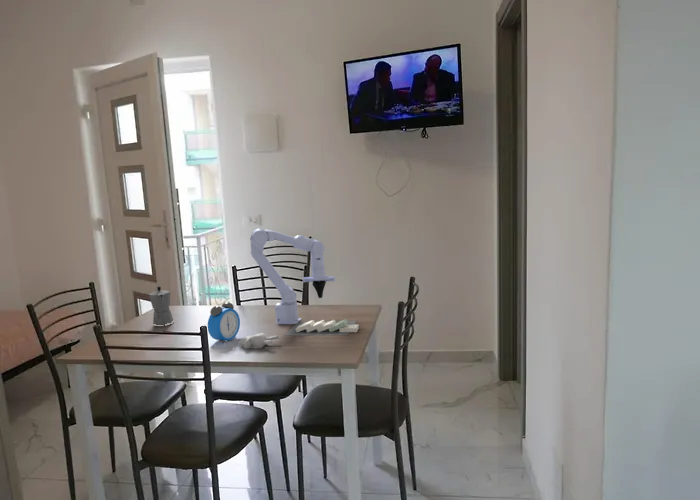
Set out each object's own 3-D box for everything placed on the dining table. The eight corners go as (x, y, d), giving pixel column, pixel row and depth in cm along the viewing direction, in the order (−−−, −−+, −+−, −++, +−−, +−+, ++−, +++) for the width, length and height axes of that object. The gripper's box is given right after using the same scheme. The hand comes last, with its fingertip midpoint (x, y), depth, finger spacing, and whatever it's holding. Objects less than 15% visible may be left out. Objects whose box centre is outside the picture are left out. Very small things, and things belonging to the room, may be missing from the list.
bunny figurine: (245, 332, 218) (279, 329, 212) (248, 345, 218) (281, 342, 213) (233, 340, 209) (268, 337, 204) (236, 353, 209) (270, 350, 204)
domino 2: (305, 329, 224) (320, 323, 222) (309, 325, 228) (323, 319, 227) (307, 332, 224) (322, 326, 222) (310, 328, 229) (325, 322, 227)
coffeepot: (176, 325, 250) (171, 287, 248) (154, 329, 246) (149, 290, 244) (171, 318, 264) (166, 281, 261) (150, 322, 260) (145, 285, 257)
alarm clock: (220, 345, 216) (216, 308, 214) (208, 344, 219) (204, 307, 217) (242, 335, 227) (238, 300, 225) (230, 334, 230) (226, 299, 228)
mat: (284, 336, 222) (284, 335, 222) (298, 322, 241) (298, 321, 240) (347, 335, 217) (347, 334, 217) (356, 321, 235) (356, 321, 235)
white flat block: (339, 328, 221) (356, 328, 219) (341, 324, 226) (358, 324, 224) (339, 332, 221) (356, 332, 220) (342, 328, 226) (358, 328, 224)
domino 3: (316, 328, 223) (331, 322, 221) (319, 325, 228) (334, 319, 226) (318, 332, 223) (333, 326, 221) (321, 328, 228) (336, 322, 226)
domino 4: (328, 328, 222) (343, 322, 220) (331, 325, 226) (346, 318, 225) (330, 332, 222) (345, 325, 220) (333, 328, 227) (347, 322, 225)
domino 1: (295, 329, 225) (310, 323, 223) (298, 325, 229) (313, 319, 228) (296, 332, 225) (311, 326, 223) (300, 328, 230) (314, 323, 228)
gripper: (299, 269, 240) (302, 300, 242) (331, 268, 237) (334, 299, 239) (304, 266, 246) (306, 296, 248) (335, 265, 243) (337, 295, 245)
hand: (320, 297), depth 244 cm, fingers closed
